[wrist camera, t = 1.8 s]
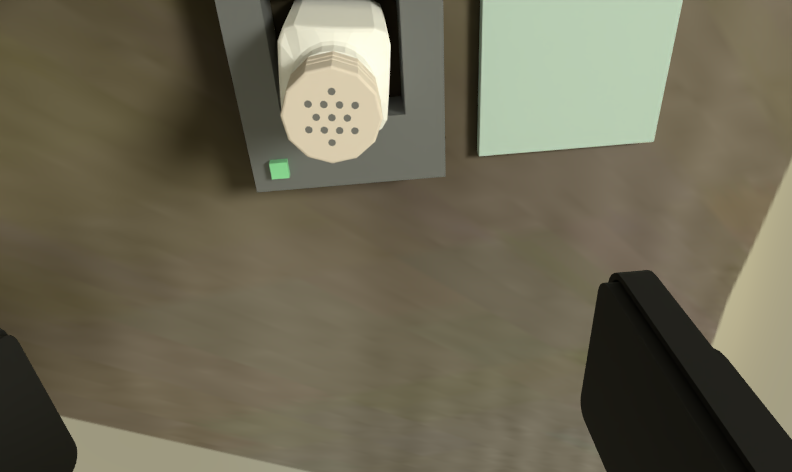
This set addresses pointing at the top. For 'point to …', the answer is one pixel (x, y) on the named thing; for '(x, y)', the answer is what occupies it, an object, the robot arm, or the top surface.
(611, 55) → the mat
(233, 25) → the frame
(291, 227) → the top surface
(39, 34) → the top surface
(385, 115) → the salt shaker
